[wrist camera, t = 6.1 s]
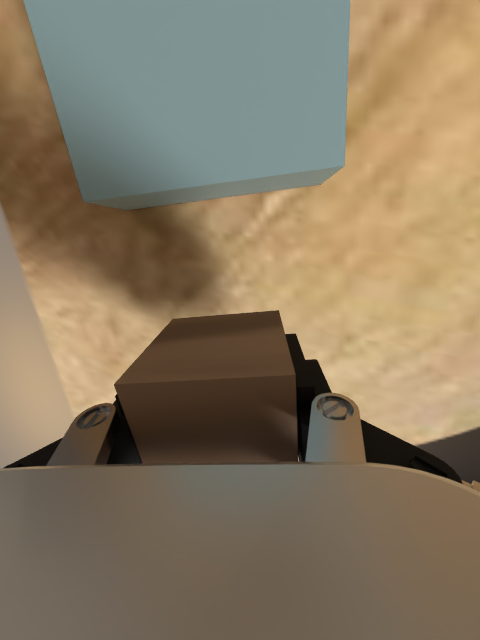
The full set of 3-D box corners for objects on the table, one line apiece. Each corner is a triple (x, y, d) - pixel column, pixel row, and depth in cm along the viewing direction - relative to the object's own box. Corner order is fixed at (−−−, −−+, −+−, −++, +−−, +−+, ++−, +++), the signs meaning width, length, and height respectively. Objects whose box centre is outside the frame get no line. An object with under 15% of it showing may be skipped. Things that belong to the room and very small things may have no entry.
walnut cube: (172, 318, 11) (114, 384, 7) (278, 310, 11) (295, 375, 6) (192, 402, 13) (156, 500, 8) (283, 398, 13) (299, 500, 8)
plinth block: (57, -72, 11) (-46, -232, 7) (321, -139, 10) (362, -371, 6) (126, 210, 15) (83, 202, 11) (320, 184, 14) (344, 166, 10)
